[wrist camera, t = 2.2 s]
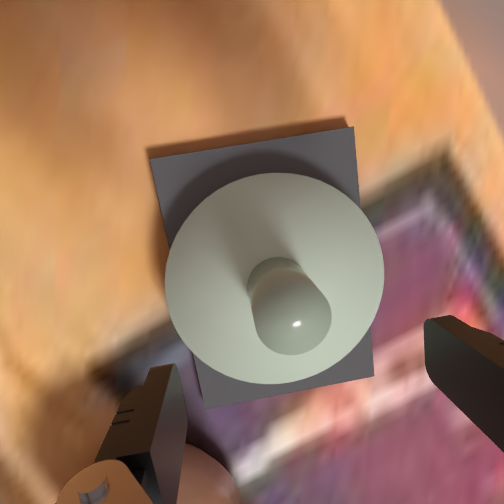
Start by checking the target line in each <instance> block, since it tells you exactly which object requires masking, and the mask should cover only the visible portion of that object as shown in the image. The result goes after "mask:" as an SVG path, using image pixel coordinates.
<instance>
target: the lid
mask: <svg viewBox="0 0 504 504" xmlns="http://www.w3.org/2000/svg"><path fill="white" fill-rule="evenodd" d="M383 284H384V263H383V256H382V251H381V247H380V244H379V240H378V238H377V236H376V233H375V231H374V229H373V227H372V225H371V224H370V222H369V220H368V219H367V217H366V216H365V214H364V213H363V212H362V211H361V210H360V208H359V207H358V206H357V205H356V204H355V203H354V202H353V201H352V200H351V199H350V198H348V197H347V196H346V195H345V194H343V193H342V192H340V191H339V190H337V189H336V188H334V187H333V186H330V185H328V184H326V183H324V182H322V181H320V180H317V179H314V178H311V177H308V176H303V175H298V174H292V173H264V174H256V175H252V176H248V177H243V178H241V179H238V180H236V181H233V182H230V183H228V184H227V185H225V186H223V187H221V188H219V189H217V190H216V191H215V192H213V193H212V194H211V195H209V196H208V197H206V198H205V199H204V200H203V201H202V202H201V203H200V204H199V205H198V206H197V207H196V208H195V209H194V210H193V211H192V213H191V214H190V215H189V216H188V218H187V219H186V220H185V222H184V223H183V225H182V226H181V228H180V230H179V232H178V233H177V235H176V237H175V239H174V242H173V244H172V246H171V249H170V252H169V256H168V260H167V263H166V271H165V296H166V302H167V307H168V310H169V314H170V317H171V320H172V322H173V324H174V326H175V328H176V330H177V332H178V334H179V335H180V337H181V338H182V340H183V342H184V343H185V344H186V345H187V347H188V348H189V349H190V350H191V351H192V352H193V353H194V354H195V355H196V356H197V357H198V358H199V359H200V360H201V361H203V362H204V363H205V364H207V365H208V366H210V367H211V368H213V369H214V370H216V371H218V372H220V373H222V374H224V375H226V376H229V377H232V378H235V379H237V380H241V381H246V382H250V383H258V384H281V383H289V382H294V381H298V380H302V379H305V378H308V377H311V376H313V375H316V374H318V373H320V372H322V371H324V370H326V369H328V368H329V367H331V366H332V365H334V364H335V363H337V362H338V361H340V360H341V359H342V358H343V357H345V356H346V355H347V354H348V353H349V352H350V351H351V350H352V349H353V348H354V347H355V346H356V345H357V344H358V343H359V342H360V340H361V339H362V338H363V336H364V335H365V333H366V332H367V331H368V329H369V327H370V325H371V323H372V322H373V320H374V317H375V315H376V313H377V310H378V308H379V304H380V300H381V297H382V292H383Z"/></svg>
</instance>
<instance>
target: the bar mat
mask: <svg viewBox="0 0 504 504" xmlns="http://www.w3.org/2000/svg"><path fill="white" fill-rule="evenodd" d="M150 163H151V167H152V172H153V176H154V181H155V185H156V190H157V194H158V199H159V203H160V208H161V212H162V217H163V221H164V226H165V230H166V235H167V239H168V244H169V248H170V249H171V246H172V244H173V242H174V239H175V237H176V235H177V233H178V232H179V230H180V228H181V226H182V225H183V223H184V222H185V220H186V219H187V218H188V216H189V215H190V214H191V213H192V211H193V210H194V209H195V208H196V207H197V206H198V205H199V204H200V203H201V202H202V201H203V200H204V199H205V198H206V197H208V196H209V195H211V194H212V193H213V192H215V191H216V190H217V189H219V188H221V187H223V186H225V185H227V184H228V183H230V182H233V181H236V180H238V179H241V178H243V177H248V176H252V175H256V174H264V173H292V174H298V175H303V176H308V177H311V178H314V179H317V180H320V181H322V182H324V183H326V184H328V185H330V186H333V187H334V188H336V189H337V190H339V191H340V192H342V193H343V194H345V195H346V196H347V197H348V198H350V199H351V200H352V201H353V202H354V203H355V204H356V205H357V206H358V207H359V208H360V197H359V184H358V172H357V160H356V148H355V136H354V127H347V128H341V129H335V130H329V131H322V132H316V133H310V134H304V135H297V136H291V137H285V138H279V139H272V140H266V141H260V142H254V143H247V144H241V145H235V146H229V147H222V148H216V149H210V150H204V151H198V152H191V153H185V154H179V155H173V156H166V157H160V158H154V159H150ZM360 210H361V209H360ZM193 356H194V360H195V365H196V369H197V374H198V378H199V383H200V387H201V392H202V396H203V401H204V405H205V409H209V408H214V407H220V406H225V405H230V404H235V403H240V402H245V401H250V400H255V399H260V398H265V397H271V396H276V395H281V394H286V393H291V392H296V391H301V390H306V389H311V388H317V387H322V386H327V385H332V384H337V383H342V382H347V381H352V380H357V379H362V378H368V377H373V376H374V366H373V354H372V342H371V330H370V327H369V329H368V331H367V332H366V333H365V335H364V336H363V338H362V339H361V340H360V342H359V343H358V344H357V345H356V346H355V347H354V348H353V349H352V350H351V351H350V352H349V353H348V354H347V355H346V356H345V357H343V358H342V359H341V360H340V361H338V362H337V363H335V364H334V365H332V366H331V367H329V368H328V369H326V370H324V371H322V372H320V373H318V374H316V375H313V376H311V377H308V378H305V379H302V380H298V381H294V382H289V383H281V384H258V383H250V382H246V381H241V380H237V379H235V378H232V377H229V376H226V375H224V374H222V373H220V372H218V371H216V370H214V369H213V368H211V367H210V366H208V365H207V364H205V363H204V362H203V361H201V360H200V359H199V358H198V357H197V356H196V355H195V354H194V353H193Z"/></svg>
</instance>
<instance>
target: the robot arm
mask: <svg viewBox="0 0 504 504" xmlns="http://www.w3.org/2000/svg"><path fill="white" fill-rule="evenodd" d="M424 349H425V366H426V370H427V373H428V375H429V377H430V379H431V381H432V382H433V383H434V384H435V385H436V386H437V387H438V388H439V389H440V390H441V391H442V392H443V393H444V394H445V395H446V396H447V397H448V398H449V399H450V400H451V401H452V402H453V403H454V404H455V405H456V406H457V407H458V408H459V409H460V410H461V411H462V412H463V413H464V414H465V415H466V416H467V417H468V418H469V419H470V420H471V421H472V422H473V423H474V424H475V425H476V426H477V427H478V428H479V429H480V430H481V431H482V432H483V433H484V434H486V435H487V436H488V437H489V438H490V439H491V440H492V441H493V442H494V443H495V444H496V445H497V446H498V447H499V448H500V449H501V450H502V451H503V452H504V341H503V340H502V339H500V338H498V337H497V336H495V335H493V334H491V333H489V332H486V331H483V330H479V329H476V328H473V327H471V326H469V325H467V324H466V323H464V322H462V321H461V320H459V319H457V318H456V317H454V316H452V315H448V316H442V317H436V318H431V319H427V320H426V321H425V322H424ZM187 426H188V419H187V409H186V404H185V399H184V395H183V390H182V386H181V381H180V377H179V372H178V368H177V366H176V364H175V363H174V364H168V365H162V366H157V367H151V368H150V370H149V373H148V375H147V378H146V380H145V383H144V386H138V387H134V388H133V389H132V390H131V391H130V392H129V393H128V394H127V395H126V396H125V397H124V398H123V400H122V402H121V404H120V406H119V408H118V411H117V415H115V417H114V419H113V422H112V426H110V428H109V430H108V432H107V435H106V437H105V439H104V441H103V443H102V446H101V448H100V450H99V452H98V454H97V457H96V459H95V461H94V463H93V464H92V465H90V466H88V467H86V468H85V469H83V470H81V471H80V472H79V473H77V474H76V475H75V476H74V477H72V478H71V479H70V480H69V481H68V482H67V484H66V485H65V486H64V487H63V489H62V490H61V492H60V494H59V496H58V498H57V502H56V504H176V503H177V497H178V490H179V483H180V476H181V469H182V462H183V455H184V448H185V441H186V434H187Z"/></svg>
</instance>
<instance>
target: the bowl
mask: <svg viewBox="0 0 504 504" xmlns="http://www.w3.org/2000/svg"><path fill="white" fill-rule="evenodd" d="M176 504H241V498H240V494H239V490H238V487H237V485H236V483H235V481H234V479H233V478H232V476H231V475H230V473H229V472H228V471H227V470H226V469H225V468H224V467H223V466H222V465H221V464H220V463H219V462H218V461H216V460H215V459H214V458H212V457H211V456H209V455H208V454H207V453H206V452H204V451H202V450H201V449H199V448H197V447H195V446H192V445H190V444H187V443H185V448H184V455H183V462H182V469H181V476H180V483H179V490H178V497H177V503H176Z"/></svg>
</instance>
